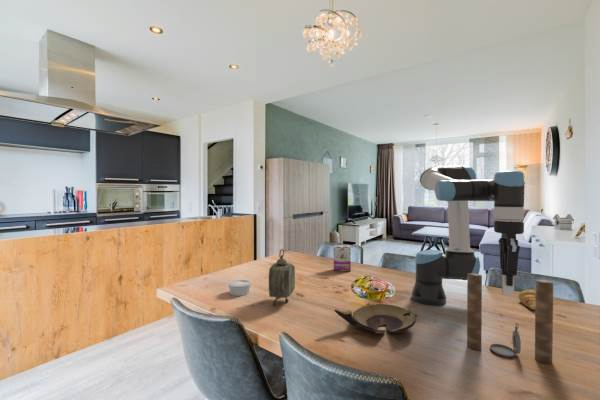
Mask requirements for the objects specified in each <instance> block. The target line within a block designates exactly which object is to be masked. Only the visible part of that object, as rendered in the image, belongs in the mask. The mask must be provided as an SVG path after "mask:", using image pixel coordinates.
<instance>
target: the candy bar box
mask: <svg viewBox="0 0 600 400" xmlns="http://www.w3.org/2000/svg"><path fill="white" fill-rule="evenodd" d="M351 265H352V263H351V245H333V271H334V270H352V269H351V268H352V267H351Z"/></svg>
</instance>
